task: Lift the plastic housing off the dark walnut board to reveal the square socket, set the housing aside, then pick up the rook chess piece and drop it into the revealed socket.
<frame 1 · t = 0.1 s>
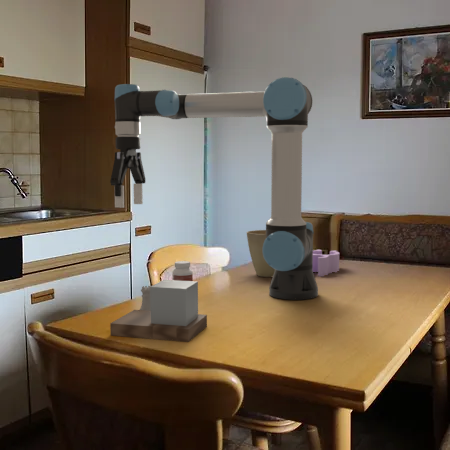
hand: (129, 205, 192), 28 cm above the table, tool pointing down, fingers open, 13 cm apart
socket board: (159, 330, 155), on the table
plant pot: (266, 275, 228), on the table
housing: (174, 320, 153), point 3 cm above the table, touching socket board
pill bottle: (182, 298, 191), on the table
rook chess piece: (147, 316, 170), on the table
clip: (320, 272, 235), on the table
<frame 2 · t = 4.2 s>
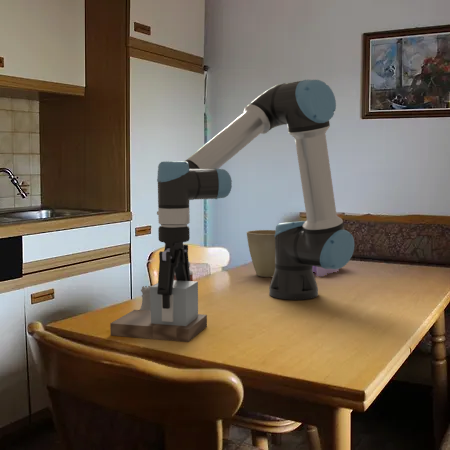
hand: (174, 316, 153), 4 cm above the table, tool pointing down, fingers closed on housing, 9 cm apart
housing: (175, 320, 153), point 3 cm above the table, touching gripper, socket board
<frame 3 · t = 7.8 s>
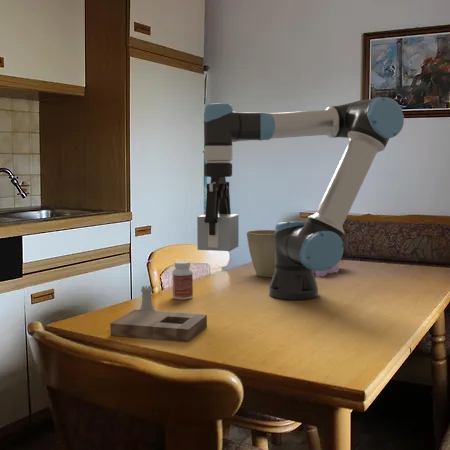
hand: (218, 244, 170), 19 cm above the table, tool pointing down, fingers closed on housing, 9 cm apart
housing: (218, 248, 170), point 18 cm above the table, touching gripper
when the fingers open (2 cm above the table, at t = 11.2 s): housing drops 2 cm, on the table.
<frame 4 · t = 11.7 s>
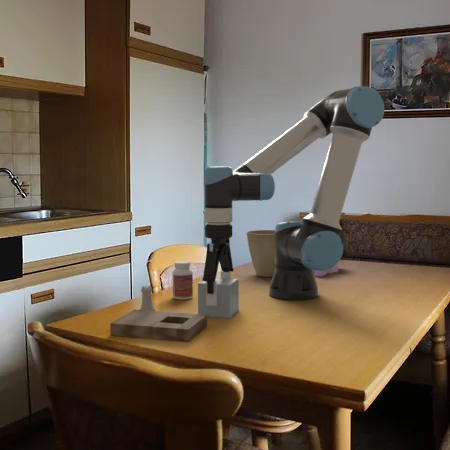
hand: (218, 299, 172), 4 cm above the table, tool pointing down, fingers open, 13 cm apart
housing: (218, 312, 172), on the table
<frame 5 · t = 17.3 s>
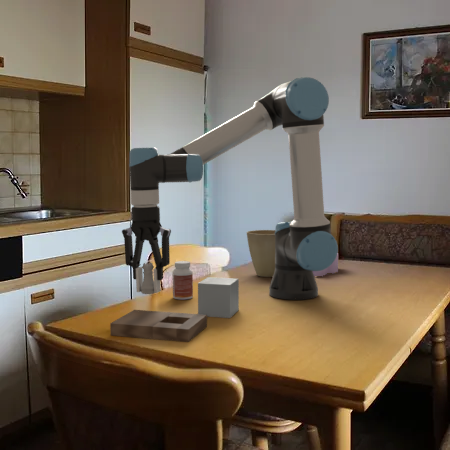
hand: (148, 291, 169), 7 cm above the table, tool pointing down, fingers closed on rook chess piece, 4 cm apart
rook chess piece: (148, 293, 169), point 6 cm above the table, touching gripper
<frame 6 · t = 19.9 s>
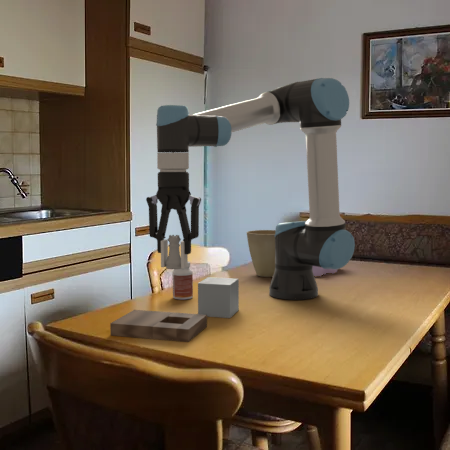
hand: (174, 266, 152), 16 cm above the table, tool pointing down, fingers closed on rook chess piece, 4 cm apart
rook chess piece: (174, 268, 152), point 16 cm above the table, touching gripper
when the fingers open (3 cm above the table, at t = 23.0 s): rook chess piece drops 3 cm, resting in socket board.
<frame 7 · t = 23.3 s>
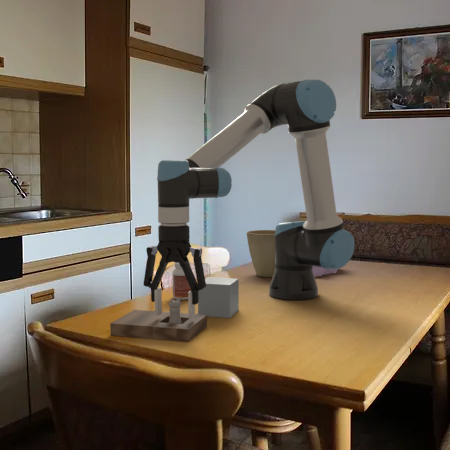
hand: (174, 315, 153), 4 cm above the table, tool pointing down, fingers open, 8 cm apart
rook chess piece: (175, 332, 154), resting in socket board
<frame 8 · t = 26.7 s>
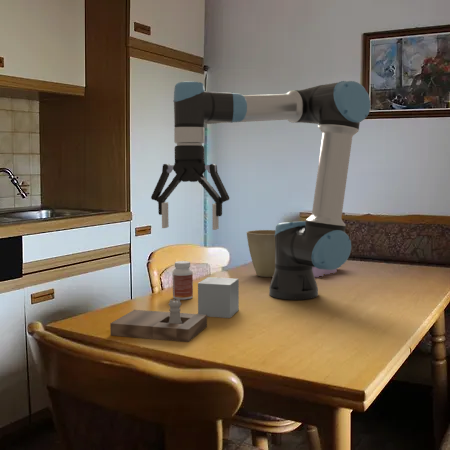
hand: (190, 228, 159), 25 cm above the table, tool pointing down, fingers open, 13 cm apart
at the end: rook chess piece 0.1 cm from the target spot on the socket board, point 0.0 cm above the socket board's base; rook chess piece tilted 0°; housing moved 21.8 cm from its start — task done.
